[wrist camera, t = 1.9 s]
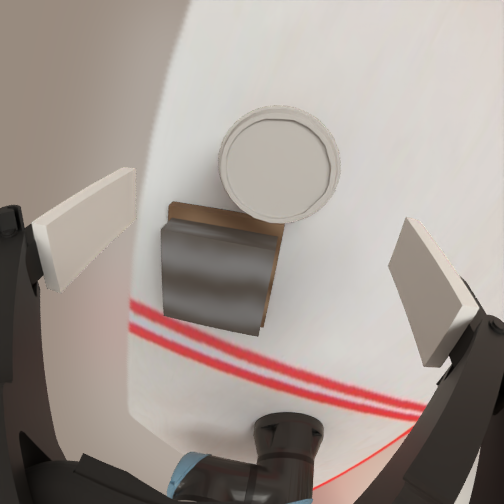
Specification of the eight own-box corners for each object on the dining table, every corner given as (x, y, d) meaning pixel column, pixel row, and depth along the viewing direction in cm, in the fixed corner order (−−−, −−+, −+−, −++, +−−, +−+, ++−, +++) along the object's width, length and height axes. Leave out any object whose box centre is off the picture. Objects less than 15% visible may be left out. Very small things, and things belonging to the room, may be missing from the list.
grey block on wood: (264, 320, 45) (260, 344, 41) (172, 301, 46) (161, 322, 41) (285, 220, 37) (282, 239, 33) (173, 201, 38) (156, 216, 33)
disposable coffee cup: (259, 195, 36) (240, 242, 26) (229, 118, 32) (195, 131, 22) (338, 173, 33) (356, 212, 23) (312, 91, 29) (320, 89, 19)
